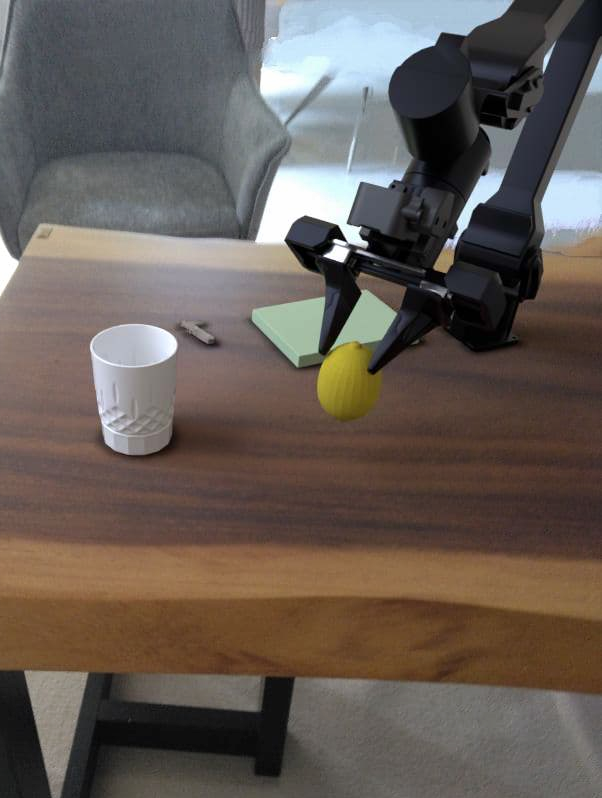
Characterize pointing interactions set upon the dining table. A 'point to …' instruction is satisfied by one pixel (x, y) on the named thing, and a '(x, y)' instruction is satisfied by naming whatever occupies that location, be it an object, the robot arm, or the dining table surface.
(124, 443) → the white cup
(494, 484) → the dining table surface
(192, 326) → the pocket knife
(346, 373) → the lemon
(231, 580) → the dining table surface
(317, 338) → the cutting board
